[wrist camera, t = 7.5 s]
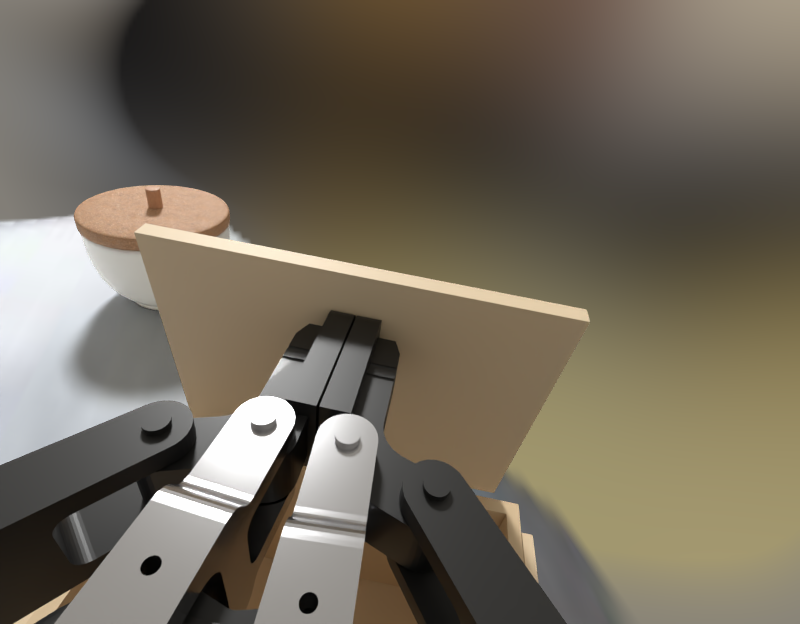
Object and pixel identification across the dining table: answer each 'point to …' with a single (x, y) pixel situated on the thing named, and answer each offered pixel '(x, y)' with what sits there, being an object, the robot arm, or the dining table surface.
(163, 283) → the flap
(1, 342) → the dining table surface
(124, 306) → the dining table surface
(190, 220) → the lidded jar
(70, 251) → the dining table surface
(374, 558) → the carton
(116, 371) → the dining table surface
